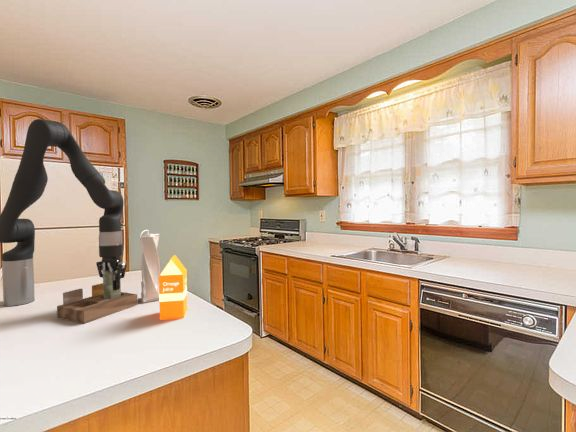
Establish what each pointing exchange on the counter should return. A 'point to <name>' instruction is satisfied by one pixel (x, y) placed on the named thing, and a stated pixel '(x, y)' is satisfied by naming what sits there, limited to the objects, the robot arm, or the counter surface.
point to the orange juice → (173, 290)
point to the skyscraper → (150, 268)
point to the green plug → (109, 286)
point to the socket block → (92, 305)
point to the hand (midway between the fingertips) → (112, 289)
